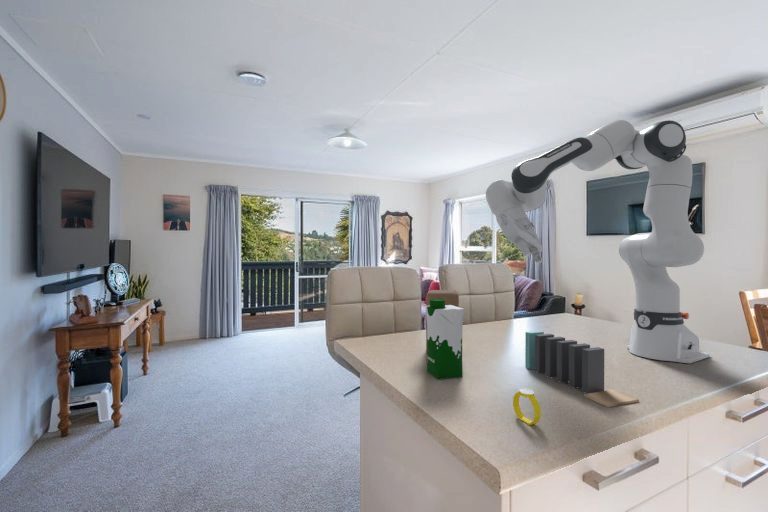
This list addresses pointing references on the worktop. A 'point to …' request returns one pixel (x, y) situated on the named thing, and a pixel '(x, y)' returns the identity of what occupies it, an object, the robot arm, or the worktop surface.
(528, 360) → the domino
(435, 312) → the milk carton
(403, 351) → the worktop surface
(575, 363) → the domino
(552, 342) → the domino
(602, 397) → the coaster
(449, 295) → the block
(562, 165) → the robot arm
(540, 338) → the domino
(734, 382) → the worktop surface
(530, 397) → the watch
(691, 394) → the worktop surface
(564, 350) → the domino
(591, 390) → the domino
